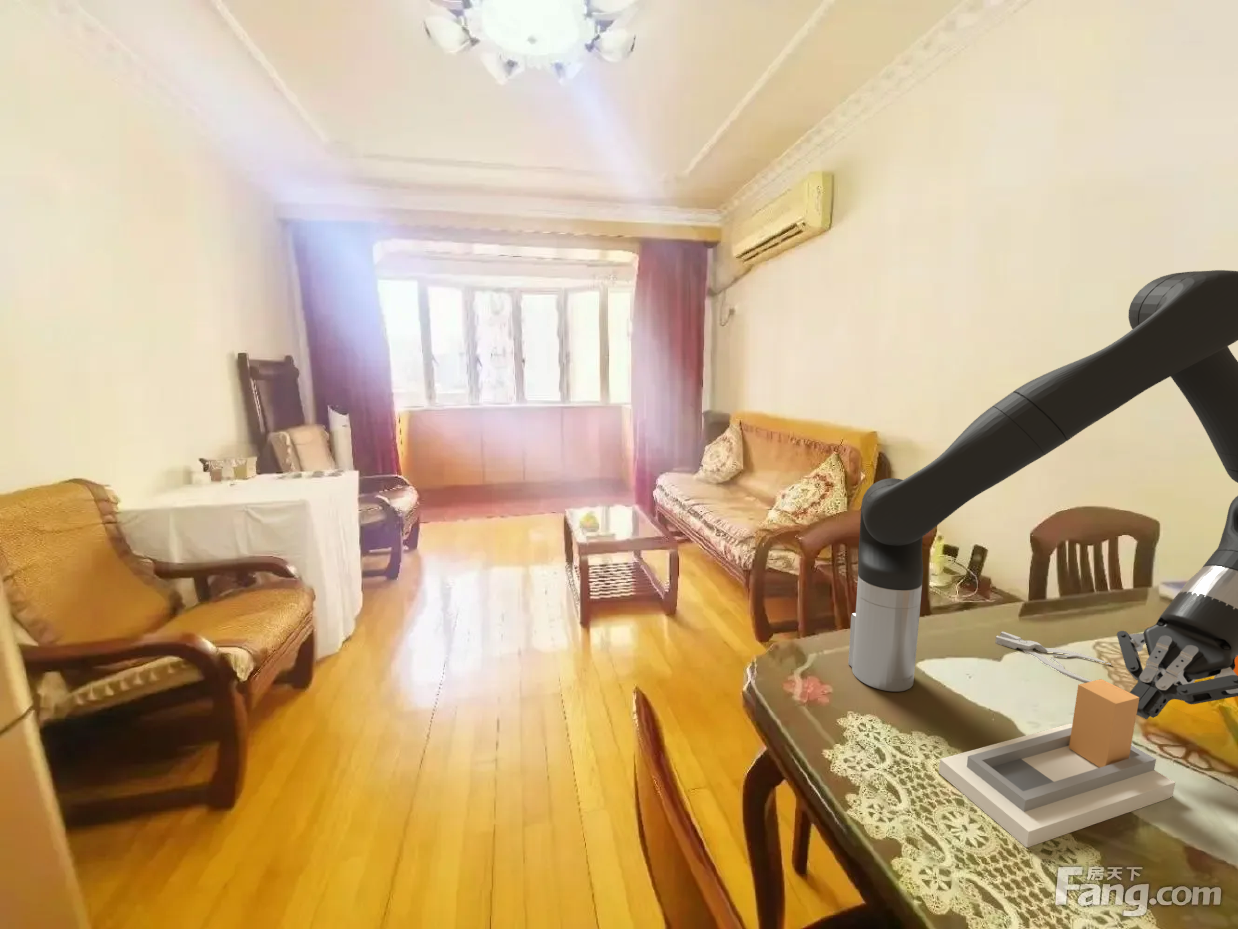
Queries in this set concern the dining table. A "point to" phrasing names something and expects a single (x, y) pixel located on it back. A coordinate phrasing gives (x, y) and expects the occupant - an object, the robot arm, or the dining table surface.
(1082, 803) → the switch board
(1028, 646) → the pliers
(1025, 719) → the dining table surface
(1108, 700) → the switch tab
